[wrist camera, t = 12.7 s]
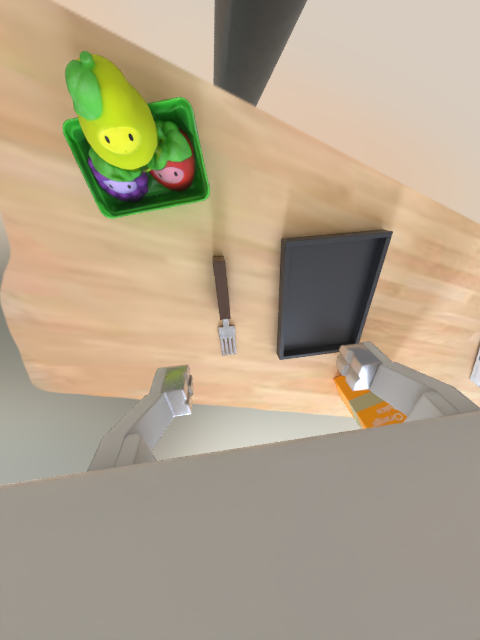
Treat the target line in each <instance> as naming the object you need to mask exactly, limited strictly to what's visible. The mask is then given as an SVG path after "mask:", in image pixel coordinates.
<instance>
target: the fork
mask: <svg viewBox="0 0 480 640" xmlns="http://www.w3.org/2000/svg"><path fill="white" fill-rule="evenodd" d="M213 268H214V276H215V283H216V291H217V298H218V306H219V314H220V320H223V326H222V327H218V329H219V337H220V340H221V348H222V355H223V356H225V352H224V344H223V339H224V340H225V348H226V355H229V353H228V344H227V338H229V347H230V355H233V353H232V344H231V338H233V348H234V354H236V344H235V328H234V325H230V326H229V320H228V319H230V308H229V298H228V288H227V278H226V268H225V260H224V256H216V257H213Z"/></svg>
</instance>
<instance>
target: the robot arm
mask: <svg viewBox="0 0 480 640" xmlns="http://www.w3.org/2000/svg"><path fill="white" fill-rule="evenodd" d="M339 352H340V353H341V354H340V355H339V356H338V357H337V360H336V364H337V368H338V371H339V372H340V374H342V375H343V376H345V377H346V382H347V383H348V385H349V386H350V388H351V389H352V390H353V391H356V390H365V389H369V391H371V392H372V393H374V394H375V395H377V396H378V397H380V398H381V399H383V400H384V401H386V402H387V403H389V404H390V405H392V406H393V407H394V408H396V409H397V410H399V411H400V412H402V413H403V414H405V415H406V416H407V418H406V419H405V421H404V422H403V423H397V424H391V425H384V426H378V427H371V428H365V429H359V430H353V431H346V432H339V433H333V434H326V435H320V436H314V437H307V438H301V439H294V440H288V441H282V442H275V443H269V444H263V445H256V446H250V447H244V448H237V449H230V450H224V451H218V452H211V453H204V454H198V455H192V456H185V457H179V458H172V459H166V460H159V461H157V460H156V459H155V457H154V455H153V454H152V452H151V451H152V450H153V448H154V447H155V445H156V444H157V442H158V441H159V439H160V438H161V436H162V435H163V433H164V432H165V430H166V429H167V427H168V426H169V424H170V423H171V421H172V420H173V418H174V417H175V416H181V415H187V414H191V411H192V399H191V396H192V395H193V390H194V388H193V379H192V376H191V375H190V368H189V365H181V366H171V367H163V368H158V369H157V370H156V373H155V376H154V380H153V383H152V386H151V389H150V392H149V395H145V396H144V397H143V398H142V399H141V400H140V401H139V402H138V403H137V405H135V406H134V407H133V408H132V409H131V410H130V411H129V412H128V413H127V414H126V415H125V416H124V417H123V418H122V419H121V420H120V421H119V422H118V423H117V424H116V425H115V426H114V427H113V428H112V429H111V430H110V431H108V432H107V433H106V434H105V435H104V436H103V438H102V439H101V441H100V444H99V446H98V448H97V450H96V452H95V455H94V457H93V459H92V461H91V464H90V466H89V468H88V470H87V472H81V473H75V474H69V475H62V476H56V477H50V478H43V479H36V480H30V481H23V482H18V483H11V484H4V485H0V640H480V408H479V407H478V406H477V405H476V404H474V403H473V402H472V401H471V400H469V399H468V398H467V397H466V396H464V395H463V394H462V393H461V392H460V391H458V390H457V389H456V388H455V387H453V386H451V385H448V384H446V383H444V382H441V381H439V380H437V379H434V378H432V377H430V376H427V375H425V374H423V373H420V372H418V371H416V370H413V369H411V368H409V367H406V366H404V365H402V364H399V363H397V362H392V361H391V360H390V359H389V358H388V357H387V356H386V355H385V354H383V353H382V352H381V351H380V350H379V349H378V348H377V347H376V346H375V345H374V344H373V343H371V342H362V343H355V344H348V345H342V346H341V347H340V349H339Z"/></svg>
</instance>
